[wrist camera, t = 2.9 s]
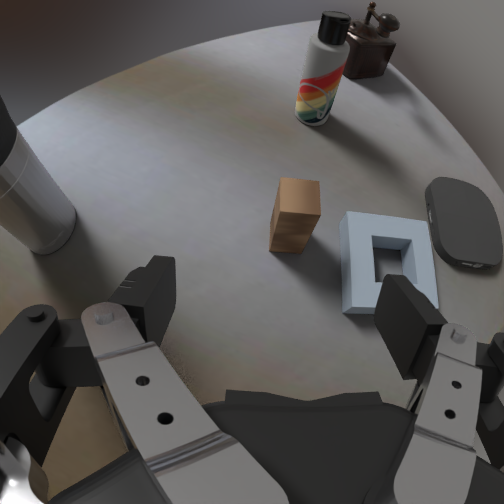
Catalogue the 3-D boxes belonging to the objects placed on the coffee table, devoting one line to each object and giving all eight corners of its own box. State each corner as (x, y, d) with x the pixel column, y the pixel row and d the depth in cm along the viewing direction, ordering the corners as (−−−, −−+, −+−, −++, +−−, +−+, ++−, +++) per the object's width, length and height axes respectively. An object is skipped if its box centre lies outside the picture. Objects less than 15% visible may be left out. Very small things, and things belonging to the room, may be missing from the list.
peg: (269, 251, 40) (279, 211, 30) (270, 222, 41) (280, 177, 32) (301, 253, 40) (320, 215, 30) (301, 225, 41) (319, 181, 32)
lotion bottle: (305, 130, 48) (332, 22, 29) (288, 107, 50) (307, 4, 31) (333, 123, 49) (367, 23, 30) (316, 101, 51) (341, 4, 32)
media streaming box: (481, 197, 46) (490, 188, 44) (497, 272, 41) (508, 266, 38) (420, 180, 46) (428, 170, 43) (433, 263, 41) (444, 256, 38)
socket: (342, 313, 37) (352, 306, 34) (339, 223, 42) (347, 211, 38) (424, 314, 37) (438, 308, 34) (415, 232, 42) (426, 221, 39)
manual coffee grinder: (317, 53, 57) (333, -17, 41) (355, 50, 60) (375, -13, 43) (361, 96, 53) (390, 20, 36) (399, 90, 55) (430, 24, 38)
